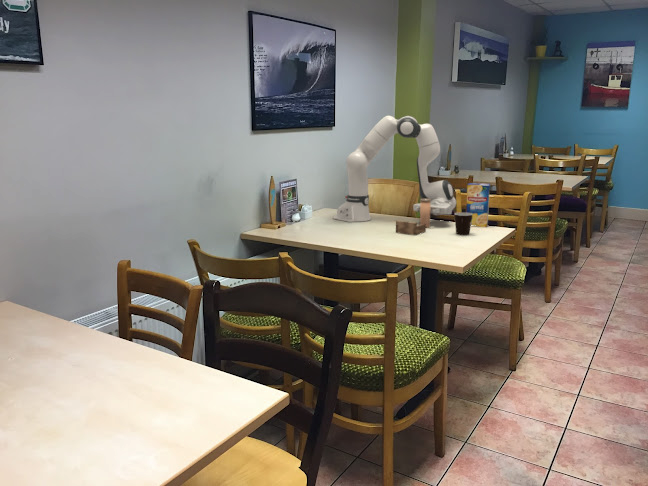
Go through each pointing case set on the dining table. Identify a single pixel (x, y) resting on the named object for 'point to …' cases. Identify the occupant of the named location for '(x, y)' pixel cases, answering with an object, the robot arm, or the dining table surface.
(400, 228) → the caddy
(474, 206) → the blue yellow food box
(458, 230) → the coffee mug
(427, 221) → the canister
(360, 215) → the robot arm
